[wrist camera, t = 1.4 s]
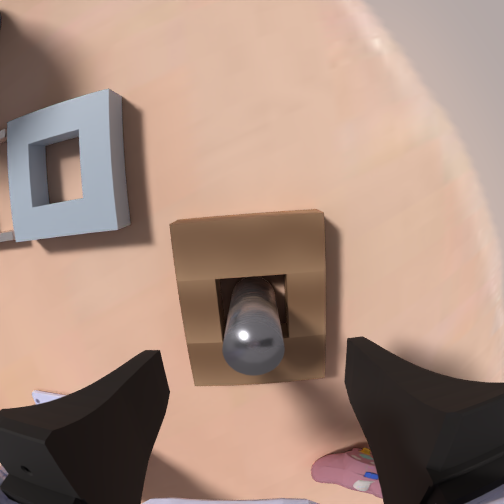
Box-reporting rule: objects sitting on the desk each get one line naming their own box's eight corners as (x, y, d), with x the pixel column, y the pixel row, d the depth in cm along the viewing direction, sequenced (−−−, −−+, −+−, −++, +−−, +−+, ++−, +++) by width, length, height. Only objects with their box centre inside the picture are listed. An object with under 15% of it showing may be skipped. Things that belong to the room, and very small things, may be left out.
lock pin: (276, 315, 20) (285, 373, 13) (233, 318, 20) (225, 376, 14) (273, 274, 19) (283, 320, 13) (229, 277, 19) (218, 324, 13)
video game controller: (404, 446, 25) (450, 466, 18) (385, 485, 24) (426, 512, 17) (324, 428, 24) (365, 456, 17) (302, 472, 23) (335, 510, 16)
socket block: (130, 224, 19) (118, 229, 17) (32, 236, 19) (15, 242, 17) (121, 96, 17) (108, 88, 15) (24, 125, 17) (7, 122, 15)
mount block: (318, 361, 21) (324, 377, 19) (199, 369, 21) (194, 386, 19) (316, 209, 18) (323, 212, 16) (178, 219, 19) (169, 224, 17)
